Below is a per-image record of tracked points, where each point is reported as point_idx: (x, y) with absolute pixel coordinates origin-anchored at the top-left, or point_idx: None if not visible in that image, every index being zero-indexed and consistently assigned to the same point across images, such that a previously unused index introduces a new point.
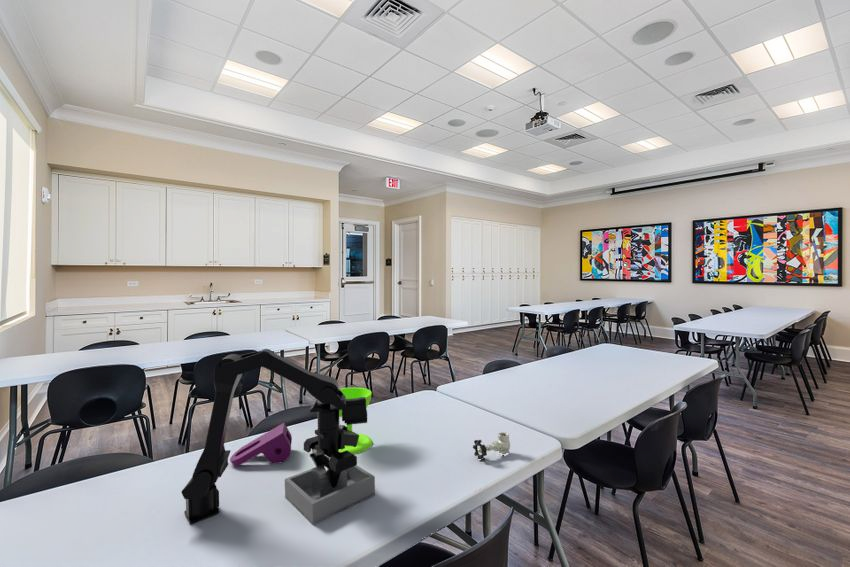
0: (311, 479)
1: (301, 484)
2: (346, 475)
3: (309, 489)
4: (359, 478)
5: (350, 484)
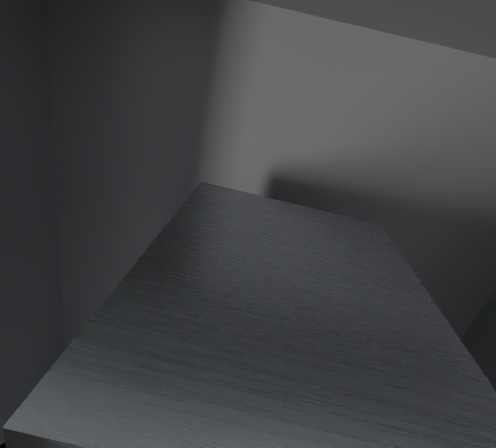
0: (20, 327)
1: (35, 382)
2: (427, 306)
3: (88, 318)
4: (470, 27)
5: (309, 90)
